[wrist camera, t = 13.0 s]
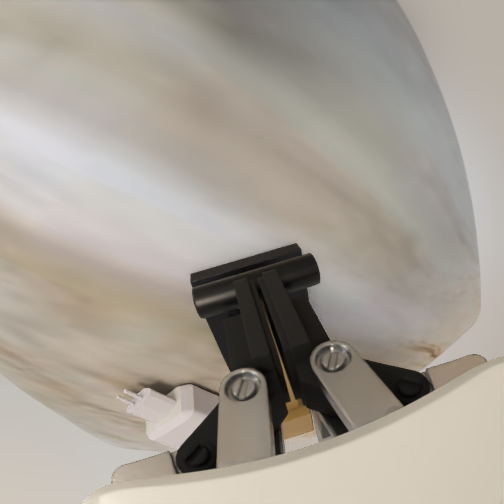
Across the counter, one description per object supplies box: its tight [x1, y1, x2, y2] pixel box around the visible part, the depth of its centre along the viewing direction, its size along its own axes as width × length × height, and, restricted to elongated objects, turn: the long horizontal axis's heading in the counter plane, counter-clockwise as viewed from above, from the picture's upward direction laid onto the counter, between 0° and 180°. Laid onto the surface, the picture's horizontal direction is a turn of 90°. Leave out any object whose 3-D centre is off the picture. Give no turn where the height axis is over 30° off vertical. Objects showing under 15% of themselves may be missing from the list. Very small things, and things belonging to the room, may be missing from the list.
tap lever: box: [192, 253, 320, 439], centre depth 15 cm, size 13×5×2 cm, turn 13°
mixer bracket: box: [190, 243, 331, 439], centre depth 21 cm, size 12×9×13 cm
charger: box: [117, 384, 219, 449], centre depth 29 cm, size 5×9×15 cm
